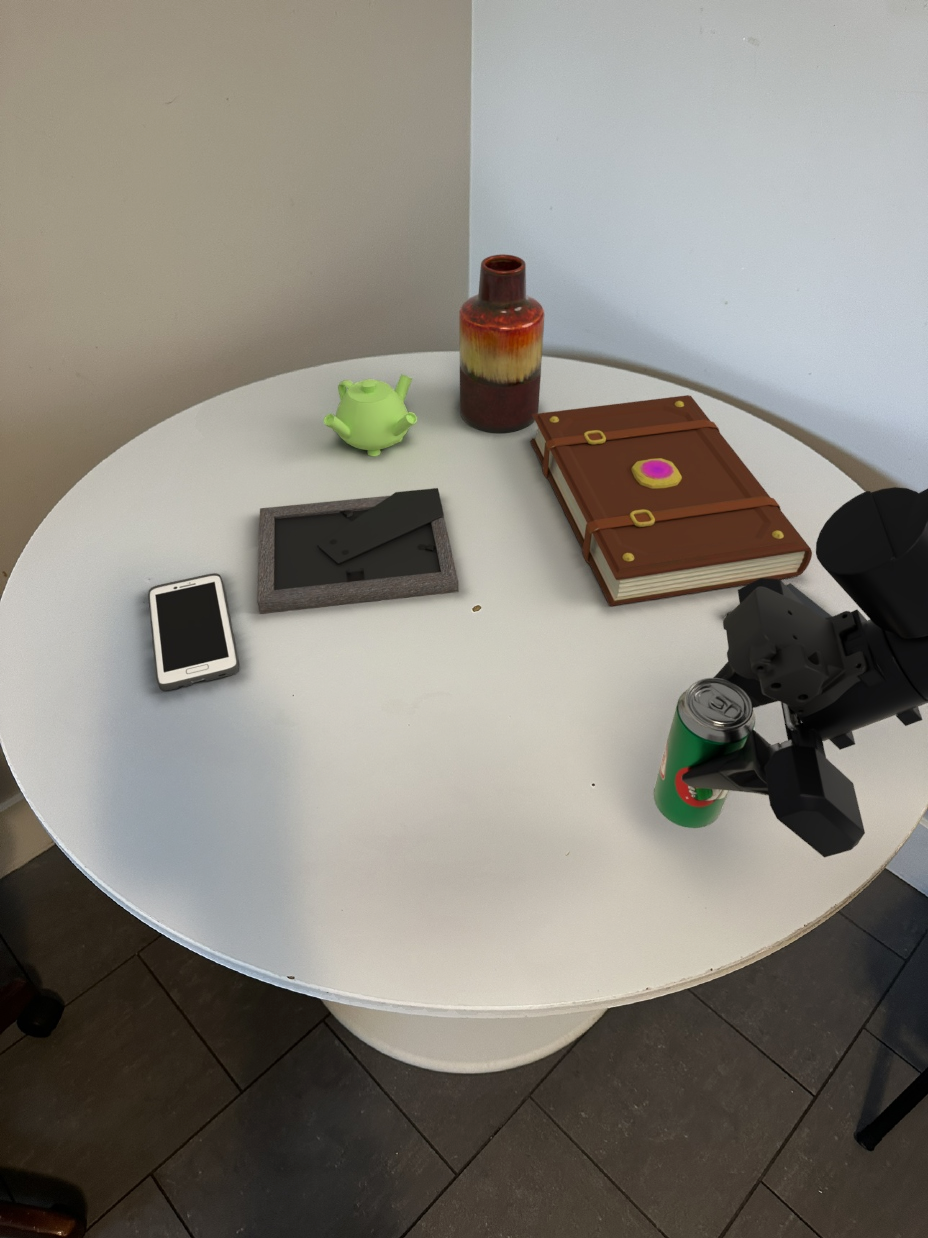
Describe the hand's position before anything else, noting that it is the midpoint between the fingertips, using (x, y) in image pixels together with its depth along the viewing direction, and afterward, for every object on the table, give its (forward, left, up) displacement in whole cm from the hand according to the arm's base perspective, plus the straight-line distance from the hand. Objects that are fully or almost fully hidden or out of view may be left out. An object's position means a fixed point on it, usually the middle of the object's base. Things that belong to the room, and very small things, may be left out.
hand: (682, 749), depth 57 cm
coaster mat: (-21, -22, -13) cm, 33 cm away
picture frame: (+22, -40, -13) cm, 47 cm away
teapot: (+18, -62, -13) cm, 66 cm away
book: (-14, -44, -13) cm, 48 cm away
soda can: (-1, 0, -7) cm, 7 cm away
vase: (+1, -67, -13) cm, 68 cm away
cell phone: (+39, -30, -13) cm, 51 cm away
